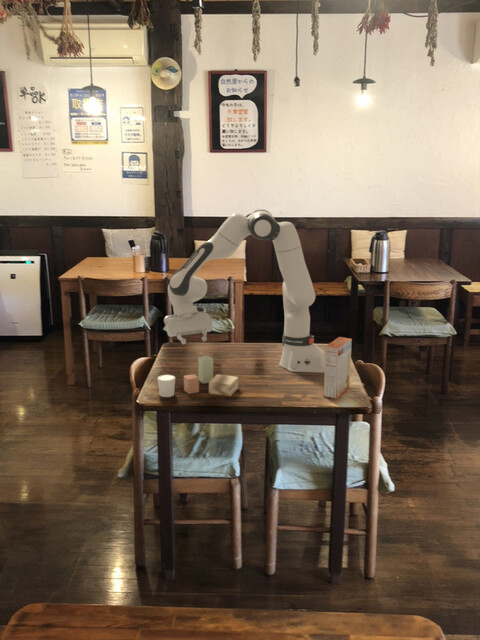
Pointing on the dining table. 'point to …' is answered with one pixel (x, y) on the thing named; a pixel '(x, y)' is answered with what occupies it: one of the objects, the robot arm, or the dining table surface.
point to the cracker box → (337, 367)
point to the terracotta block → (191, 383)
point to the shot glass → (166, 385)
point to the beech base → (223, 385)
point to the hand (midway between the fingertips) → (194, 341)
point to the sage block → (205, 369)
